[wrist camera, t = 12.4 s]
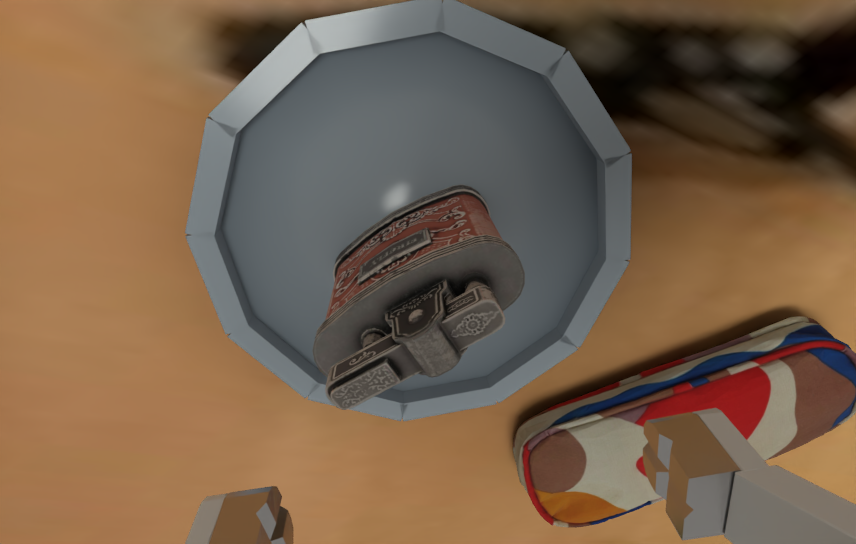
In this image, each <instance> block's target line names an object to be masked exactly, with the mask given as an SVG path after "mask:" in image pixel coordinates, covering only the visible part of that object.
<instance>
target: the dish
mask: <svg viewBox="0 0 856 544" xmlns="http://www.w3.org/2000/svg"><path fill="white" fill-rule="evenodd" d="M565 49H566V48H564V47H561V46H559V45H557V44H554V43H552V42H550V41H548V40H545V39H543V38H541V37H538V36H536V35H534V34H532V33H529V32H527V31H525V30H522V29H520V28H518V27H516V26H513V25H511V24H509V23H506V22H504V21H502V20H500V19H497V18H495V17H493V16H490V15H488V14H486V13H483V12H481V11H479V10H477V9H474V8H472V7H470V6H467V5H465V4H463V3H461V2H458V1H456V0H413V1H408V2H402V3H397V4H391V5H386V6H381V7H375V8H370V9H364V10H359V11H354V12H348V13H343V14H338V15H332V16H327V17H321V18H316V19H311V20H305V23H302V22H301V23H300V24H299V25H298V26H297V27H296V28H295V29H294V30H293V31H292V32H291V33H290V34H289V35H288V36H287V37H286V38H285V39H284V40H283V41H282V42H281V43H280V44H279V45H278V46H277V47H276V48H275V49H274V50H273V51H272V52H271V53H270V54H269V55H268V56H267V57H266V58H265V59H264V60H263V61H262V62H261V63H260V64H259V65H258V66H257V67H256V68H255V69H254V70H253V71H252V72H251V73H250V74H249V75H248V76H247V77H246V78H245V79H244V80H243V81H242V82H241V83H240V84H239V85H238V86H237V87H236V88H235V89H234V90H233V91H232V92H231V93H230V94H229V95H228V96H227V97H226V98H225V99H224V100H223V101H222V102H221V103H220V104H219V105H218V106H217V107H216V108H215V109H214V110H213V111H212V112H211V113H210V114H209V116H210V117H208V118H207V119H206V124H205V129H204V135H203V140H202V145H201V151H200V156H199V161H198V167H197V172H196V177H195V183H194V188H193V193H192V199H191V204H190V209H189V215H188V220H187V226H186V231H185V233H186V234H187V235H186V236H185V237H186V239H187V241H188V244H189V246H190V249H191V251H192V254H193V256H194V258H195V261H196V263H197V266H198V268H199V271H200V273H201V275H202V278H203V280H204V283H205V285H206V288H207V290H208V293H209V295H210V297H211V300H212V302H213V305H214V307H215V310H216V312H217V314H218V317H219V319H220V322H221V324H222V327H223V329H224V331H225V334H229V335H228V337H229V338H230V339H231V340H232V341H234V342H235V343H236V344H237V345H239V346H240V347H241V348H242V349H244V350H245V351H246V352H247V353H249V354H250V355H251V356H252V357H254V358H255V359H256V360H257V361H259V362H260V363H261V364H262V365H264V366H265V367H266V368H267V369H269V370H270V371H271V372H273V373H274V374H275V375H276V376H278V377H279V378H280V379H281V380H283V381H284V382H285V383H286V384H288V385H289V386H290V387H291V388H293V389H294V390H295V391H296V392H298V393H299V394H300V395H301V396H303V397H304V398H306V397H307V396H308V400H311V401H316V402H320V403H324V404H329V405H333V406H335V405H334V404H333V403H332V402H331V401H330V400H329V399H328V397H327V396H326V393H325V388H326V383H327V377H326V376H325V375H324V374H323V373H322V372H321V371H320V370H319V368H318V367H317V365H316V363H315V362H314V357H313V352H312V350H313V345H314V341H315V337H316V333H317V330H318V328H319V327H320V326H321V324H322V323H323V322H324V321H325V319H326V315H327V311H328V307H329V303H330V299H331V295H332V291H333V287H334V283H335V282H334V277H333V270H334V266H335V262H336V258H337V257H338V255H339V254H340V253H341V251H343V250H344V249H345V248H346V247H347V246H348V245H349V244H350V243H352V242H353V241H354V240H355V239H356V238H357V237H358V236H359V235H361V234H362V233H363V232H364V231H365V230H367V229H368V228H370V227H371V226H373V225H374V224H375V223H377V222H378V221H380V220H381V219H383V218H384V217H386V216H387V215H388V214H390V213H391V212H393V211H395V210H397V209H399V208H401V207H403V206H405V205H407V204H409V203H411V202H413V201H415V200H417V199H419V198H421V197H424V196H426V195H429V194H432V193H434V192H437V191H440V190H443V189H445V188H448V187H451V186H454V185H461V184H462V185H466V186H470V187H472V188H474V189H475V190H477V191H478V192H479V193H480V194H481V196H482V197H483V198H484V200H485V201H486V203H487V205H488V208H489V211H490V218H491V220H492V222H493V223H494V225H495V227H496V229H497V231H498V232H499V234H500V236H501V238H502V239H503V240H504V241H505V242H507V243H508V244H509V245H510V246H511V247H512V249H513V250H514V251H515V252H516V254H517V256H518V257H519V259H520V261H521V263H522V266H523V269H524V272H525V285H524V287H523V290H522V293H521V295H520V296H519V297H518V299H517V300H516V301H515V302H514V303H513V304H512V305H511V306H509V307H508V308H507V309H505V310H504V311H503V314H504V316H505V324H504V325H503V327H502V328H501V329H500V330H498V331H497V332H495V333H493V334H491V335H489V336H488V337H486V338H484V339H482V340H480V341H478V342H476V343H474V344H472V345H471V346H469V347H468V348H467V351H466V352H465V353H464V354H463V355H462V357H461V359H460V361H459V362H458V364H457V365H456V366H455V367H454V368H453V369H451V370H450V371H448V372H446V373H444V374H442V375H440V376H438V377H428V376H427V375H420V374H419V373H418V374H416V375H414V376H412V377H410V378H408V379H406V380H404V381H402V382H401V383H399V384H397V385H395V386H393V387H391V388H389V389H387V390H385V391H383V392H382V393H380V394H378V395H376V396H374V397H372V398H370V399H368V400H366V401H365V402H363V403H361V404H359V405H357V406H355V407H353V408H350V410H355V411H359V412H363V413H368V414H372V415H376V416H381V417H385V418H389V419H393V420H398V421H401V420H402V417H403V421H408V420H413V419H418V418H424V417H429V416H435V415H440V414H446V413H451V412H456V411H462V410H467V409H473V408H478V407H483V406H489V405H494V404H496V401H497V402H498V403H500V402H501V401H503V400H504V399H506V398H507V397H509V396H510V395H512V394H513V393H515V392H516V391H518V390H519V389H521V388H522V387H523V386H525V385H526V384H528V383H529V382H531V381H532V380H534V379H535V378H537V377H538V376H540V375H541V374H543V373H544V372H546V371H547V370H549V369H550V368H552V367H553V366H555V365H556V364H557V363H559V362H560V361H562V360H563V359H565V358H566V357H568V356H569V355H571V354H572V353H574V352H575V351H577V350H578V349H577V347H581V345H582V343H583V341H584V340H585V338H586V336H587V335H588V333H589V331H590V329H591V328H592V326H593V324H594V323H595V321H596V319H597V317H598V316H599V314H600V312H601V311H602V309H603V307H604V305H605V304H606V302H607V300H608V299H609V297H610V295H611V293H612V292H613V290H614V288H615V286H616V285H617V283H618V281H619V280H620V278H621V276H622V274H623V273H624V271H625V269H626V268H627V266H628V264H629V261H628V260H630V256H631V187H632V153H630V151H631V150H630V148H629V146H628V145H627V143H626V142H625V140H624V138H623V137H622V135H621V134H620V132H619V130H618V129H617V127H616V126H615V124H614V122H613V121H612V119H611V118H610V116H609V114H608V113H607V111H606V110H605V108H604V106H603V105H602V103H601V102H600V100H599V98H598V97H597V95H596V94H595V92H594V91H593V89H592V87H591V86H590V84H589V83H588V81H587V79H586V78H585V76H584V75H583V73H582V71H581V70H580V68H579V67H578V65H577V63H576V62H575V60H574V59H573V57H572V55H571V54H570V52H569V51H565Z"/></svg>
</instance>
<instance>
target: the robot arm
mask: <svg viewBox="0 0 856 544" xmlns="http://www.w3.org/2000/svg"><path fill="white" fill-rule="evenodd" d="M643 434H644V435H645V437H646V439H647V440H648V443H647V444H646V445H645V446H644V448H643V463H644V467H645V472H646V475H647V477H648V480H649V482H650V484H651V486H652V488H653V490H654V491H655V493H656V494H658V495H659V496H661V497H662V498H664V499H666V513H667V515H668V516H669V518H670V520H671V522H672V523H673V525H674V527H675V529H676V530H677V532H678V534H679V536H680V537H681V539H682V540H688V539H695V538H702V537H709V536H716V535H723V534H725V535H724V537H725V538H727V539H728V540H729V541H731V542H732V543H733V544H856V505H855V504H853V503H851V502H849V501H847V500H845V499H843V498H841V497H839V496H837V495H835V494H833V493H831V492H829V491H827V490H825V489H823V488H821V487H819V486H817V485H815V484H813V483H811V482H809V481H807V480H805V479H803V478H801V477H799V476H797V475H795V474H793V473H791V472H789V471H787V470H785V469H783V468H781V467H779V466H777V465H775V466H768V464H767V463H766V462H765V461H764V460H763V459H762V457H761V456H760V455H759V454H758V453H757V452H756V450H755V449H754V448H753V447H752V446H751V445H750V443H749V442H748V441H747V440H746V439H745V438H744V437H743V435H742V434H741V433H740V432H739V431H738V430H737V428H736V427H735V426H734V425H733V424H732V423H731V421H730V420H729V419H728V418H727V417H726V416H725V414H724V413H723V412H722V411H721V410H719V409H717V408H712V409H706V410H701V411H695V412H692V413H691V412H688V413H683V414H678V415H672V416H667V417H662V418H656V419H651V420H646V422H645V424H644V433H643ZM281 499H282V496H281V494H280V492H279V490H278V488H277V487H275V486H272V487H265V488H258V489H251V490H244V491H238V492H231V493H226V494H220V495H213V496H207V497H206V498H205V499H204V500H203V501H202V502H201V504H200V507H199V509H198V512H197V514H196V517H195V519H194V522H193V524H192V527H191V530H190V532H189V535H188V537H187V540H186V542H185V544H293V525H292V520H291V517H290V514H289V512H288V510H286V509H285V508H283V507H281V506H280V503H281Z"/></svg>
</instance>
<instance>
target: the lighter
mask: <svg viewBox="0 0 856 544" xmlns="http://www.w3.org/2000/svg"><path fill="white" fill-rule="evenodd" d="M333 277H334V282H335V283H334V287H333V291H332V295H331V299H330V303H329V307H328V311H327V315H326V319H325V321H324V322H323V323H322V324H321V326H320V327H319V328H318V330H317V333H316V337H315V341H314V345H313V350H312V352H313V357H314V362H315V363H316V365H317V367H318V368H319V370H320V371H321V372H322V373H323V374H324V375H325V376H326V377H327V383H326V388H325V393H326V396H327V397H328V399H329V400H330V401H331V402H332V403H333V404H334V405H335V406H336V407H337V408H340V409H342V410H346V409H350V408H353V407H355V406H357V405H359V404H361V403H363V402H365V401H366V400H368V399H370V398H372V397H374V396H376V395H378V394H380V393H382V392H383V391H385V390H387V389H389V388H391V387H393V386H395V385H397V384H399V383H401V382H402V381H404V380H406V379H408V378H410V377H412V376H414V375H416V374H418V373H419V374H420V375H427V376H428V377H438V376H440V375H442V374H444V373H446V372H448V371H450V370H451V369H453V368H454V367H455V366H456V365H457V364H458V362H459V361H460V359H461V357H462V355H463V354H464V353H465V352H466V351H467V348H468V347H469V346H471V345H472V344H474V343H476V342H478V341H480V340H482V339H484V338H486V337H488V336H489V335H491V334H493V333H495V332H497V331H498V330H500V329H501V328H502V327H503V325H504V324H505V316H504V314H503V311H504V310H505V309H507V308H508V307H509V306H511V305H512V304H513V303H514V302H515V301H516V300H517V299H518V297H519V296H520V295H521V293H522V290H523V287H524V285H525V272H524V269H523V266H522V263H521V261H520V259H519V257H518V256H517V254H516V252H515V251H514V250H513V249H512V247H511V246H510V245H509V244H508V243H507V242H505V241H504V240H503V239H502V238H501V236H500V234H499V232H498V231H497V229H496V227H495V225H494V223H493V222H492V220H491V218H490V211H489V208H488V205H487V203H486V201H485V200H484V198H483V197H482V196H481V194H480V193H479V192H478V191H477V190H475V189H474V188H472V187H470V186H466V185H462V184H461V185H454V186H451V187H448V188H445V189H443V190H440V191H437V192H434V193H432V194H429V195H426V196H424V197H421V198H419V199H417V200H415V201H413V202H411V203H409V204H407V205H405V206H403V207H401V208H399V209H397V210H395V211H393V212H391V213H390V214H388V215H387V216H386V217H384V218H383V219H381V220H380V221H378V222H377V223H375V224H374V225H373V226H371V227H370V228H368V229H367V230H365V231H364V232H363V233H362V234H361V235H359V236H358V237H357V238H356V239H355V240H354V241H353V242H352V243H350V244H349V245H348V246H347V247H346V248H345V249H344V250H343V251H341V253H340V254H339V255H338V257H337V258H336V262H335V266H334V270H333Z"/></svg>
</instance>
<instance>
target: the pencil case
mask: <svg viewBox="0 0 856 544" xmlns="http://www.w3.org/2000/svg"><path fill="white" fill-rule="evenodd" d="M712 408H717V409H719V410H721V411H722V412H723V413H724V414H725V416H726V417H727V418H728V419H729V420H730V421H731V423H732V424H733V425H734V426H735V427H736V428H737V430H738V431H739V432H740V433H741V434H742V435H743V437H744V438H745V439H746V440H747V441H748V442H749V443H750V445H751V446H752V447H753V448H754V449H755V450H756V452H757V453H758V454H759V455H760V456H761V457H762V459H763V460H764V461H766V460H768V459H771V458H774V457H777V456H779V455H781V454H783V453H786V452H788V451H790V450H793V449H795V448H797V447H799V446H802V445H804V444H806V443H808V442H810V441H811V440H813V439H815V438H817V437H819V436H822V435H824V433H827V432H829V431H831V430H833V429H834V428H836V427H837V426H839V425H841V424H842V423H844V422H845V421H847V420H848V419H849V418H851V417H852V416H853V415H854V414H855V412H856V353H854V352H853V351H852V350H851V348H850V347H849V346H848V345H847V344H845V343H843V342H841V341H839V340H837V339H835V338H834V337H833V336H832V335H831V334H830V333H829V332H828V331H827V330H825V329H824V328H823V327H822V326H821V325H820V324H819V323H818V322H817V321H815V320H813V319H811V318H808V317H801V316H796V317H789V318H787V319H784V320H782V321H779V322H776V323H774V324H771V325H769V326H766V327H764V328H762V329H759V330H757V331H754V332H752V333H750V334H747V335H745V336H742V337H740V338H737V339H734V340H732V341H729V342H727V343H725V344H722V345H719V346H716V347H713V348H711V349H708V350H705V351H702V352H699V353H696V354H693V355H691V356H688V357H685V358H682V359H679V360H676V361H673V362H670V363H667V364H664V365H661V366H658V367H655V368H652V369H649V370H647V371H643V372H640V373H639V374H638V375H636V376H632V377H629V378H627V379H624V380H621V381H619V382H616V383H614V384H612V385H609V386H606V387H603V388H601V389H598V390H596V391H593V392H590V393H588V394H585V395H583V396H580V397H578V398H575V399H572V400H569V401H566V402H563V403H560V404H557V405H555V406H553V407H550V408H548V409H546V410H544V411H542V412H541V413H539V414H537V415H535V416H533V417H531V418H529V419H527V420H526V421H525V422H523V423H522V424H521V425H520V427H519V428H518V429H517V432H516V434H515V437H514V441H513V453H514V457H515V461H516V465H517V471H518V476H519V479H520V482H521V484H522V485H523V486H524V488H525V490H526V491H527V493H528V494H529V496H530V498H531V500H532V503H533V504H534V506H535V508H536V509H537V511H538V512H539V514H540V515H541V516H542V517H543V518H544V519H545V520H546V521H547V522H548V523H550V524H551V525H556V526H560V527H583V526H589V525H594V524H599V523H602V522H605V521H607V520H609V519H613V518H616V517H618V516H621V515H624V514H626V513H629V512H632V511H635V510H637V509H640V508H642V507H644V506H646V505H650V504H653V503H656V502H658V501H661V500H663V499H664V498H662V497H661V496H659V495H658V494H656V493H655V491H654V490H653V488H652V486H651V484H650V482H649V480H648V477H647V475H646V472H645V467H644V463H643V448H644V446H645V445H646V444H647V443H648V440H647V439H646V437H645V435H644V434H643V433H644V424H645V422H646V420H651V419H656V418H662V417H667V416H672V415H678V414H683V413H688V412H691V413H692V412H695V411H701V410H706V409H712Z"/></svg>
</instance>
